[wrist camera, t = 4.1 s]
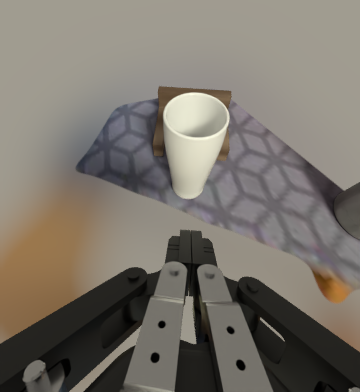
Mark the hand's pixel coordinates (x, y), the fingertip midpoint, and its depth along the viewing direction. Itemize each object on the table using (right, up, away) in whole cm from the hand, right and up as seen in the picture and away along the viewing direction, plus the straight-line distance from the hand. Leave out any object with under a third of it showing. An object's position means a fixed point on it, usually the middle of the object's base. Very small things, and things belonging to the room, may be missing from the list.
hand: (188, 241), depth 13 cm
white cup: (+1, +5, +19) cm, 19 cm away
